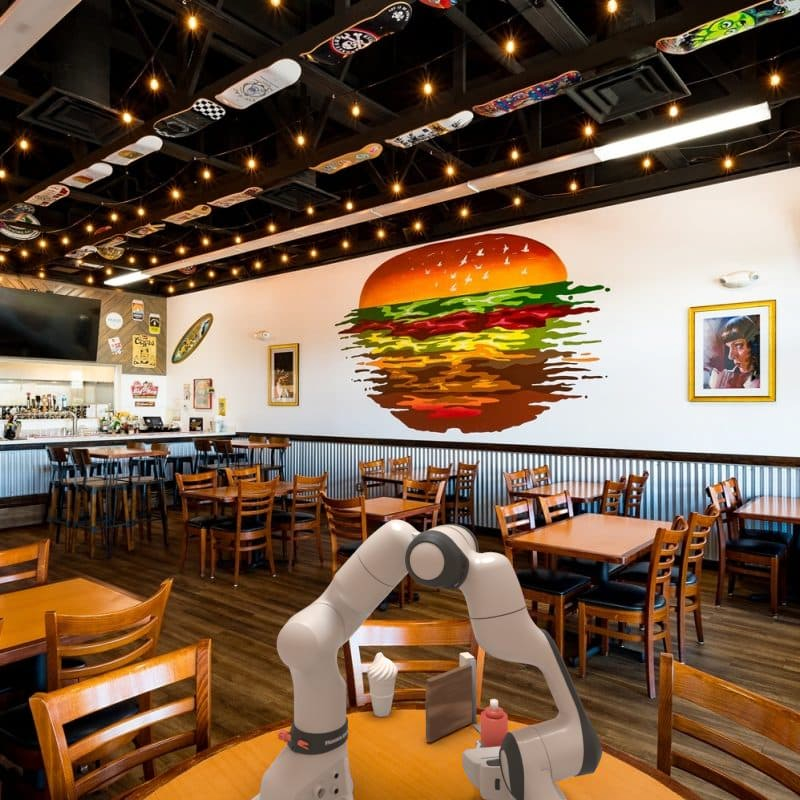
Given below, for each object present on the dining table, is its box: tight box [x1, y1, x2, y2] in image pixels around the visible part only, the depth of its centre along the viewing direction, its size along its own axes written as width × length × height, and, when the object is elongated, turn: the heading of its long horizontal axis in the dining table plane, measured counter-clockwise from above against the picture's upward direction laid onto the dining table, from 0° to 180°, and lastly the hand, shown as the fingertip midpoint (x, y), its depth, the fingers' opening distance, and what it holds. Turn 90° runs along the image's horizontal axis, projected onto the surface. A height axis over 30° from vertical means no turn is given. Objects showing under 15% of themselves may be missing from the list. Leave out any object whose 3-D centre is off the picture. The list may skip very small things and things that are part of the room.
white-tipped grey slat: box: [459, 651, 481, 735], centre depth 153 cm, size 2×22×16 cm, turn 21°
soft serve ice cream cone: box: [366, 652, 398, 718], centre depth 163 cm, size 8×8×16 cm
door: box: [424, 664, 472, 743], centre depth 153 cm, size 3×15×14 cm, turn 131°
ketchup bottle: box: [480, 698, 509, 748], centre depth 137 cm, size 6×6×15 cm
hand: (499, 741), depth 133 cm, fingers open, 8 cm apart
